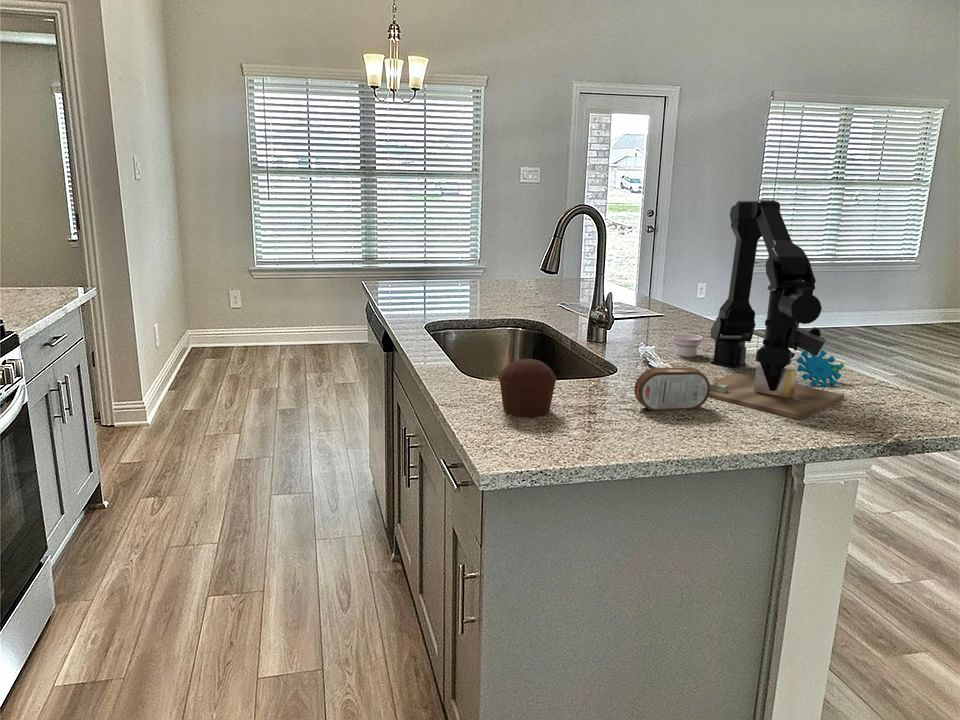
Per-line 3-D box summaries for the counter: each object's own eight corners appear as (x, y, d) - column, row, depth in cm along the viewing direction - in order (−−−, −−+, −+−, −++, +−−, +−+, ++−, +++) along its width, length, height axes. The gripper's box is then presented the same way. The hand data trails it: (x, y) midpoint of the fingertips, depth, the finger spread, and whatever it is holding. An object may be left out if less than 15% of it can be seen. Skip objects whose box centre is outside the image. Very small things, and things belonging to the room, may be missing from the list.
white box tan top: (753, 391, 148) (756, 365, 147) (759, 388, 150) (762, 363, 149) (788, 398, 143) (791, 372, 142) (794, 395, 145) (797, 369, 144)
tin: (702, 406, 141) (706, 365, 140) (710, 410, 138) (714, 369, 136) (632, 408, 139) (635, 367, 137) (638, 413, 136) (641, 371, 134)
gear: (806, 385, 155) (793, 346, 160) (793, 397, 160) (782, 359, 165) (853, 385, 156) (839, 346, 161) (839, 397, 161) (826, 359, 166)
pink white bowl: (711, 366, 176) (713, 342, 174) (662, 363, 178) (664, 339, 176) (705, 355, 187) (707, 333, 186) (659, 353, 189) (661, 330, 188)
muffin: (521, 398, 144) (522, 351, 142) (566, 409, 137) (569, 360, 135) (485, 411, 135) (486, 361, 133) (531, 424, 128) (533, 371, 126)
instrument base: (687, 393, 150) (688, 381, 150) (736, 376, 165) (738, 365, 164) (800, 420, 133) (801, 406, 133) (843, 399, 148) (845, 386, 147)
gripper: (822, 326, 131) (812, 405, 135) (828, 312, 147) (818, 384, 151) (759, 320, 136) (751, 396, 140) (772, 307, 152) (764, 376, 156)
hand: (773, 388), depth 147 cm, fingers closed on white box tan top, 3 cm apart
